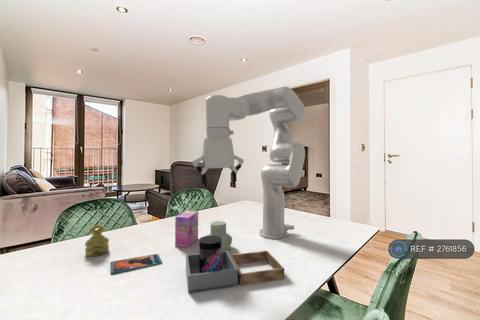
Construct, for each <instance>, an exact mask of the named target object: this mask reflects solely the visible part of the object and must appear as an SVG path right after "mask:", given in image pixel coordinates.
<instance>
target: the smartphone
mask: <svg viewBox="0 0 480 320" xmlns="http://www.w3.org/2000/svg"><path fill="white" fill-rule="evenodd" d="M158 265H163V261H162V259H161V257H160V254H159V253H155V254H150V255H149V254H148V255H143V256H137V257H131V258H125V259H120V260H113V261H110V266H109V267H110V269H109V270H110V275H116V274H121V273H126V272H131V271H135V270H140V269H141V270H142V269H145V268H149V267H154V266H158Z"/></svg>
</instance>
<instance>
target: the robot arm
mask: <svg viewBox="0 0 480 320" xmlns="http://www.w3.org/2000/svg"><path fill="white" fill-rule="evenodd" d="M265 112H269V118H270V122H271V124H272V127H273V130H274V135H273V140H272V143H271V147H270V151H269V159H270V161H272V162H273V164H272V163H270V164H266V165H265V166H263V167H262V168H261V171H260V176H261V177H260V178H261V183H262V184H261V185H262V192H263V193H262V195H263V197H262V200H263V201H262V228H261V229H259V235H260V236H261V237H263V238H265V239H271V240H273V239H274V240H277V239H279V240H280V239H284V238H287V237H288V236H289V233H288V231H289V230H291V231H292V230H295V225H294V224H291V225H290V224H286V223H285V204H286V203H285V201H286V200H285V199H286V197H285V193H284V190H283V188H296V187H298V185H299V183H300V182H301V177H302V173H303V168H304V163H305V159H306V150H305V147H304V145H303V144H302V143H301V142H297V141H293V132H292V130H291V128H290V127H289V126H288V123H298V122H301V121H303V120H304V119H305V118H306V113H307V112H306V108H305V105H304V103H303V102H302V100H301V99H300V98H299V96H298V95H297V94H296V92H295V91H294V90H293V89H292V88H291V87H290V86H289V87H288V86H280V87H275V88H270V89H266V90H261V91H256V92H251V93H247V94H243V95H241V96H238V97H227V96H226V95H223V94H213V95H209V96H208V97H206V99H205V118H206V121H205V124H206V126H205V127H206V137H204V139H203V143H202V144H203V145H202V155H201V156H199V157H197V158H195V159H194V160H192V165H193V166H194V168H195V170H196V171H197V172H198V173H200V178H201V179H200V183H201V185H202V186H203V187H204V188H205V187H207V186H208V185H207V183H208V182H207V174H206V172H207V171H208V170H209V169H227V168H228V169H230V171H231V172H230V184H231V185H233V186H234V185H236V182H237V173H238V171H240V169H241V168H242V165H243V164H244V162H245V160H244V158H242V157H239V156H237V155H235V151H234V145H233V140H232V137H231V136H232V135H234V133H235V132H234V130H231V128H230V122H232V121H240V120H244V119H246V118H247V116H248V117H249V116H255V115H259V114H263V113H265ZM235 160H236V161H237V164H236V165H235ZM200 162H202V166H203V167H202V168H201V167H200V166H199V163H200ZM282 187H283V188H282Z"/></svg>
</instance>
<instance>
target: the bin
mask: <svg viewBox="0 0 480 320" xmlns="http://www.w3.org/2000/svg"><path fill="white" fill-rule="evenodd" d="M230 255H231V254H230V253H229V251H228V250H226V251H222V271H214V272H206V273H199V253H191V254H185V275H186V283H187V285H186V286H187V293H188V294H193V293H197V292H205V291H206V292H207V291H212V290H218V289H226V288H231V287H238V285H239V284H238V283H239V282H238V269H237V268H236V266H235V264H234V262H233V260H232V258H231V257H230Z"/></svg>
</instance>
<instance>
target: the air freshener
mask: <svg viewBox="0 0 480 320" xmlns="http://www.w3.org/2000/svg"><path fill="white" fill-rule="evenodd" d="M210 235H214V236H219V237H221V238H222V251H228V249H229V250H230V248H231V245H232V243H233V237H232V236H231V235H230V233H227V223H226V222H225V221H221V220H216V221H215V220H214V221H212V222H210V232H209V233H208V234H207V235H206V236H210Z"/></svg>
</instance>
